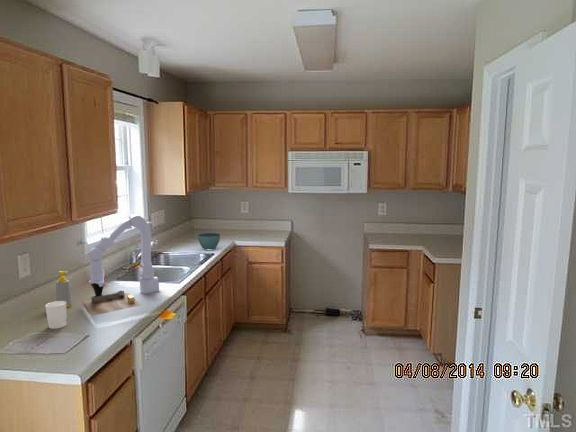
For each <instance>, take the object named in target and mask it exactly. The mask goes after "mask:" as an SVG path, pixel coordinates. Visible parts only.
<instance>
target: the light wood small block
mask: <svg viewBox="0 0 576 432" xmlns="http://www.w3.org/2000/svg"><path fill="white" fill-rule="evenodd" d="M127 299H128V302H129V303H135V300H136V298H135V296H134V295H132V294H130V296H127Z"/></svg>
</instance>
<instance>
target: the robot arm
mask: <svg viewBox="0 0 576 432" xmlns="http://www.w3.org/2000/svg"><path fill="white" fill-rule="evenodd" d="M133 228H135V229H138V230H139V232H140V255H141V256H140V265H139V267H138V274H139V275H140V277H139V291H140V294H142V295H143V294H144V295H147V294H151V293H156V292H160V282H159V278H158V277H157V276H154V275H155V271H154V269H153V263H152V228H151V227H150V225H149V223H148V222H147V221H146V219H145V218H144V217H142V216H141V215H139V214H137V213H132V214H130V215H129V216H128V217H126V218H125V219H124V220H123V221H122V222H121V223H120V224H119V225H118V226H117V227H116V228H115V229H114V230H113V232H111V233H110V235H108V236H107V235H106V236H104V237H101V238H100V241H99V242H97V244H94V245H93V247H92V248H90V249H89V251H88V256H89V262H90V263H89V267H90V270H89V271H90V280H88V283H90V286H91V287H92V289H93V292H94V296H97V295H103V290H104V287H105V283H104V282H105V278H104V267H103V266H104V264H103V260H102V259H103V255H104V254H105V253H106V252H108V250H109V249H110V248H112V247H113V245H114V244H115V240H116V239H117V238H118V237H119V236H121V235H122V234H123V233H124V232H125V231H126V230H131V229H133Z"/></svg>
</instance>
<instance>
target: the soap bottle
mask: <svg viewBox="0 0 576 432" xmlns="http://www.w3.org/2000/svg"><path fill="white" fill-rule="evenodd" d="M58 273H60V276H59V278H58V279H57V281H56V282H55V297H56V299H55V300H56V301H65V302H66V309H67V308H69V307H71V306H72V304H73V300H72V299H73V297H72V291H71V284H70V283H71V282H70V280H69V279H67V278H66V276H64V274H68V273H69V271H63V270H62V271H61V270H59V271H58Z"/></svg>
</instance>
